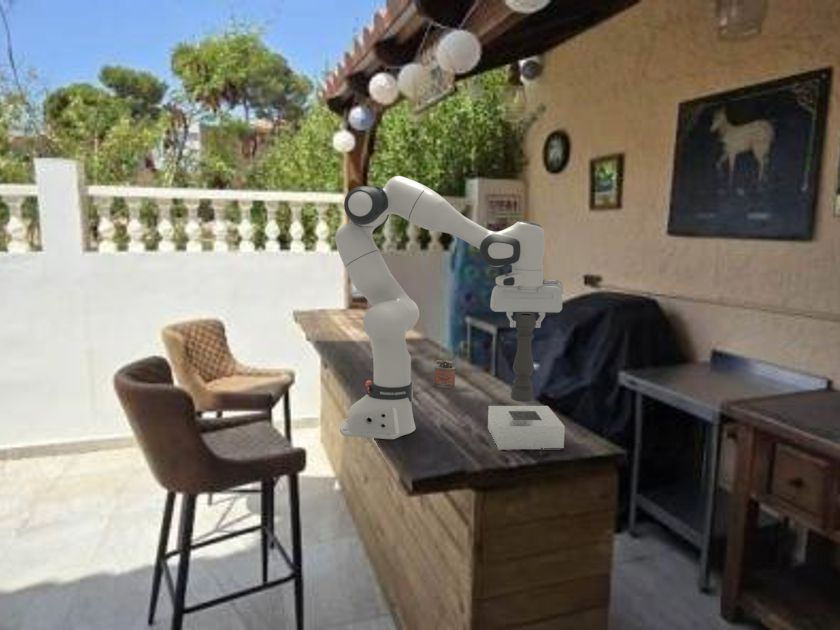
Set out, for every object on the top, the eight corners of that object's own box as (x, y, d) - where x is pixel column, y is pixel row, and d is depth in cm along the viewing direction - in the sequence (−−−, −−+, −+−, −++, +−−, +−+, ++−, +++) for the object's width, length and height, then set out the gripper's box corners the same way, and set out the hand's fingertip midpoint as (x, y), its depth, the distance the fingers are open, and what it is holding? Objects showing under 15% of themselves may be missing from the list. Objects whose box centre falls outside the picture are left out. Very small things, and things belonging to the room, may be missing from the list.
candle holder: (506, 398, 175) (510, 313, 171) (519, 394, 179) (523, 311, 175) (524, 403, 170) (528, 316, 167) (536, 399, 175) (541, 314, 171)
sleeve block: (498, 450, 163) (499, 426, 162) (487, 428, 181) (488, 405, 180) (563, 450, 164) (564, 426, 163) (546, 428, 182) (547, 405, 181)
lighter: (455, 386, 226) (456, 360, 225) (454, 388, 223) (454, 362, 222) (435, 384, 229) (435, 358, 227) (433, 386, 225) (433, 360, 224)
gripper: (560, 278, 173) (557, 325, 175) (490, 277, 172) (488, 325, 174) (566, 280, 167) (564, 329, 169) (493, 279, 166) (492, 328, 168)
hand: (525, 327), depth 172 cm, fingers closed on candle holder, 6 cm apart
